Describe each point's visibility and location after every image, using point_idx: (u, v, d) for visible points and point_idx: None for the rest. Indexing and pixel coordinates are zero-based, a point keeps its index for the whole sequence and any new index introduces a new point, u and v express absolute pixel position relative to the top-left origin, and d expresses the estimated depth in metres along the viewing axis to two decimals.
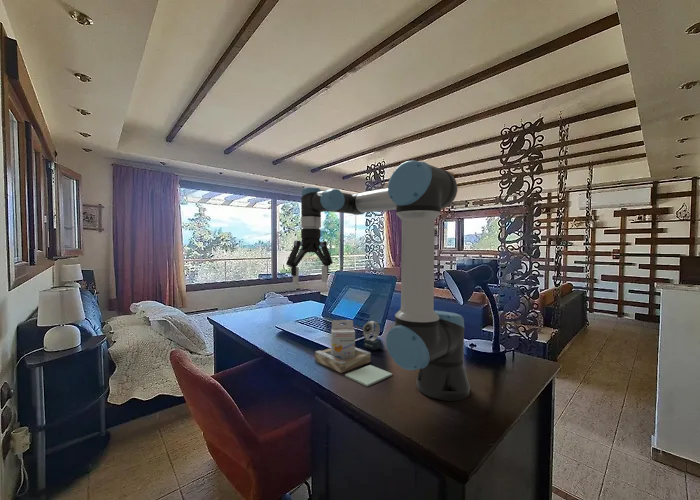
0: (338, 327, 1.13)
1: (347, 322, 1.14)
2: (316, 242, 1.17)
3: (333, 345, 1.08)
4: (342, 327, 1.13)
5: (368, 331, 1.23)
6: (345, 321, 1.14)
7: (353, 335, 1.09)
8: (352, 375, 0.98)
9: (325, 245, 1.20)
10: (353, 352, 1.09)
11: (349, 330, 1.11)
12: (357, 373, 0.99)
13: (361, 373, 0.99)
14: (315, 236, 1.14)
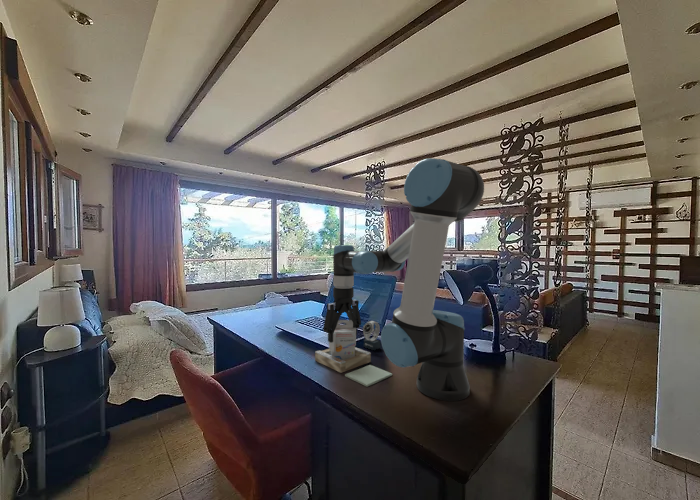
0: (338, 327, 1.13)
1: (347, 322, 1.14)
2: (349, 301, 1.12)
3: None
4: (342, 327, 1.13)
5: (368, 331, 1.23)
6: (345, 321, 1.14)
7: (353, 335, 1.09)
8: (352, 375, 0.98)
9: (357, 304, 1.14)
10: (353, 352, 1.10)
11: (349, 330, 1.11)
12: (357, 373, 0.99)
13: (361, 373, 0.99)
14: (349, 297, 1.08)
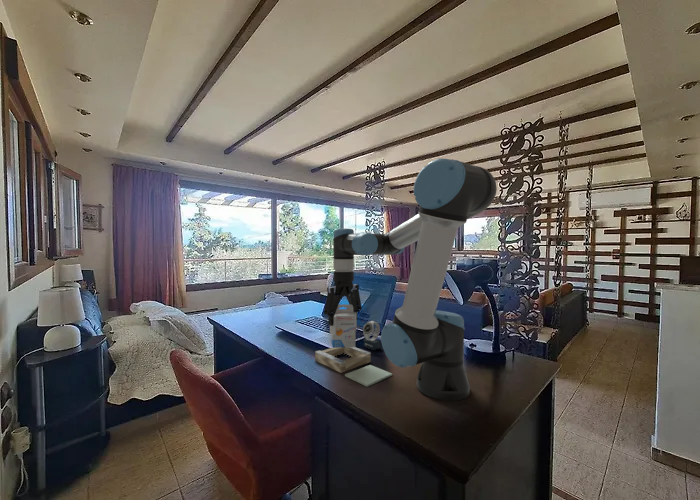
0: (338, 311, 1.13)
1: (347, 306, 1.13)
2: (349, 285, 1.11)
3: None
4: (342, 311, 1.13)
5: (368, 331, 1.23)
6: (345, 305, 1.13)
7: (353, 319, 1.09)
8: (352, 375, 0.98)
9: (357, 289, 1.14)
10: (354, 336, 1.09)
11: (349, 314, 1.10)
12: (357, 373, 0.99)
13: (361, 373, 0.99)
14: (349, 280, 1.08)
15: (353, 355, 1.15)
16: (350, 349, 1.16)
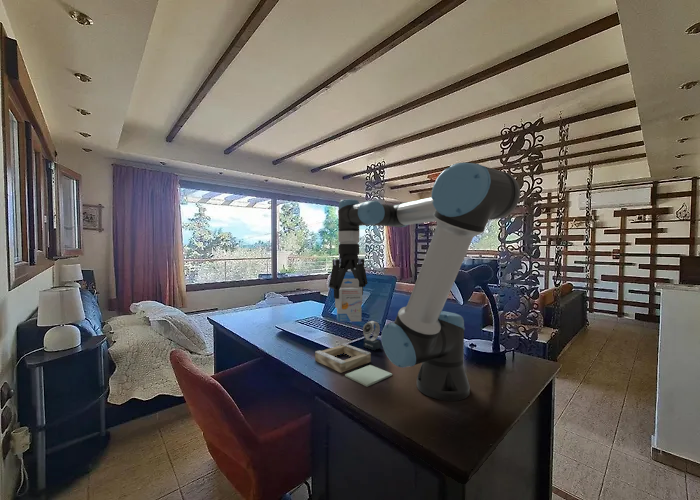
0: (344, 286, 1.10)
1: (353, 280, 1.11)
2: (354, 258, 1.09)
3: None
4: (348, 286, 1.10)
5: (368, 331, 1.23)
6: (351, 279, 1.10)
7: (359, 292, 1.06)
8: (352, 375, 0.98)
9: (363, 263, 1.11)
10: (360, 310, 1.06)
11: (355, 287, 1.08)
12: (357, 373, 0.99)
13: (361, 373, 0.99)
14: (355, 252, 1.05)
15: (353, 355, 1.15)
16: (350, 349, 1.16)
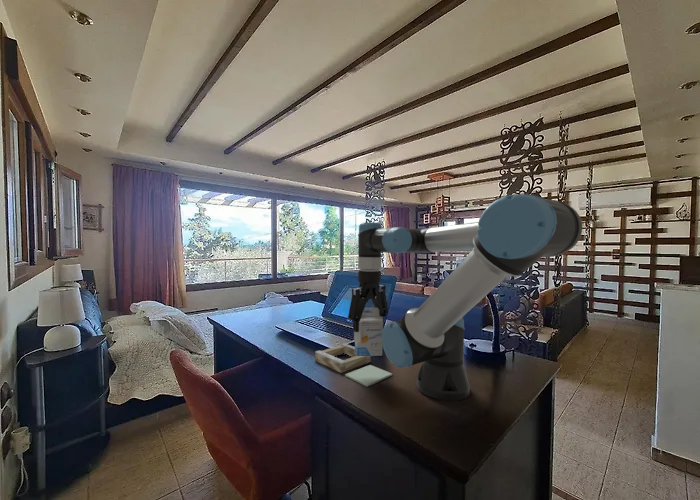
0: (363, 315, 1.01)
1: (373, 310, 1.01)
2: (375, 286, 0.99)
3: None
4: (367, 315, 1.01)
5: None
6: (371, 309, 1.01)
7: (381, 324, 0.97)
8: (352, 375, 0.98)
9: (384, 290, 1.02)
10: (381, 343, 0.97)
11: (376, 318, 0.98)
12: (357, 373, 0.99)
13: (361, 373, 0.99)
14: (376, 281, 0.96)
15: (353, 355, 1.15)
16: (350, 349, 1.16)
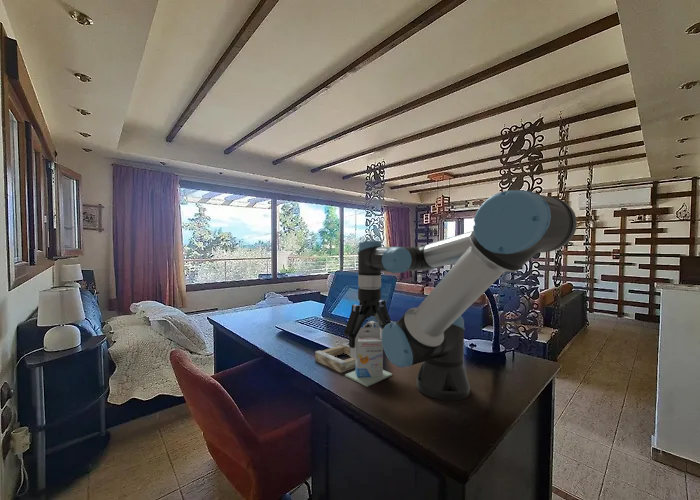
0: (363, 335, 1.01)
1: (373, 330, 1.01)
2: (375, 304, 0.99)
3: (358, 356, 0.96)
4: (368, 335, 1.01)
5: (368, 331, 1.23)
6: (371, 329, 1.01)
7: (381, 345, 0.97)
8: (352, 375, 0.98)
9: (384, 305, 1.02)
10: (381, 364, 0.97)
11: (376, 339, 0.98)
12: None
13: None
14: (376, 299, 0.96)
15: None
16: None
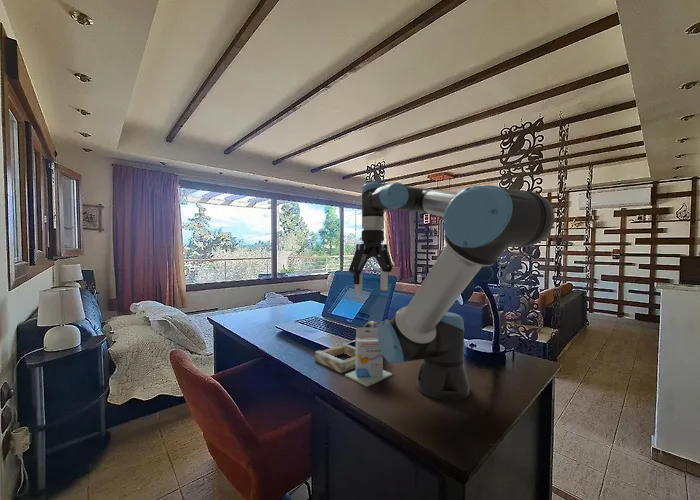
0: (363, 335, 1.01)
1: (373, 330, 1.01)
2: (378, 245, 1.03)
3: (358, 356, 0.96)
4: (368, 335, 1.01)
5: (368, 331, 1.23)
6: (371, 329, 1.01)
7: None
8: (352, 375, 0.98)
9: (386, 248, 1.06)
10: (381, 364, 0.97)
11: (376, 339, 0.98)
12: None
13: None
14: (379, 239, 1.00)
15: (353, 355, 1.15)
16: (350, 349, 1.16)
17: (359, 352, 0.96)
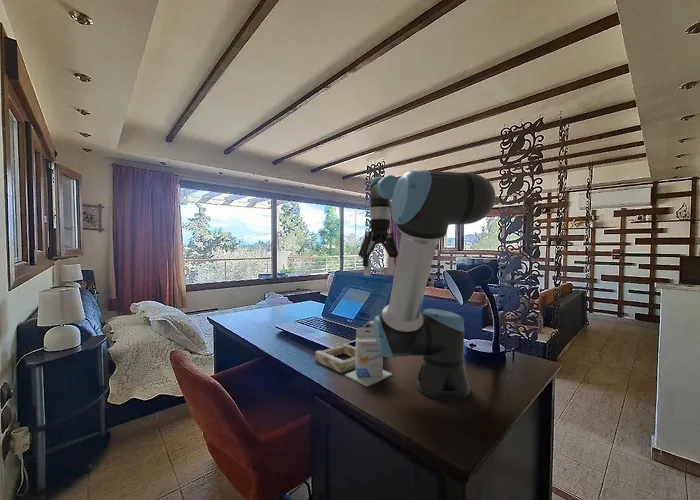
0: (363, 335, 1.01)
1: (373, 330, 1.01)
2: (385, 233, 1.16)
3: (358, 356, 0.96)
4: (368, 335, 1.01)
5: (368, 331, 1.23)
6: (371, 329, 1.01)
7: None
8: (352, 375, 0.98)
9: (392, 236, 1.19)
10: (381, 364, 0.97)
11: None
12: None
13: None
14: (386, 227, 1.12)
15: (353, 355, 1.15)
16: (350, 349, 1.16)
17: (359, 352, 0.96)
